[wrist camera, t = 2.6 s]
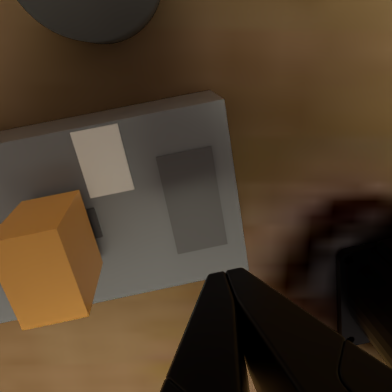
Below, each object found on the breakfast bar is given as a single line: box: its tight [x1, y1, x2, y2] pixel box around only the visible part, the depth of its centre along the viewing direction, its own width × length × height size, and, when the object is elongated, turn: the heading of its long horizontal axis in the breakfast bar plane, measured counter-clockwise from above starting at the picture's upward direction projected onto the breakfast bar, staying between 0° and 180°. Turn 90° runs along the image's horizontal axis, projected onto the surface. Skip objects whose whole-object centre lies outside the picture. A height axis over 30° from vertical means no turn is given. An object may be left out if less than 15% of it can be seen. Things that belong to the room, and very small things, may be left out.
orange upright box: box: [0, 190, 103, 331], centre depth 11 cm, size 3×2×3 cm, turn 10°
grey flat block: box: [0, 90, 249, 323], centre depth 15 cm, size 7×18×4 cm, turn 100°
